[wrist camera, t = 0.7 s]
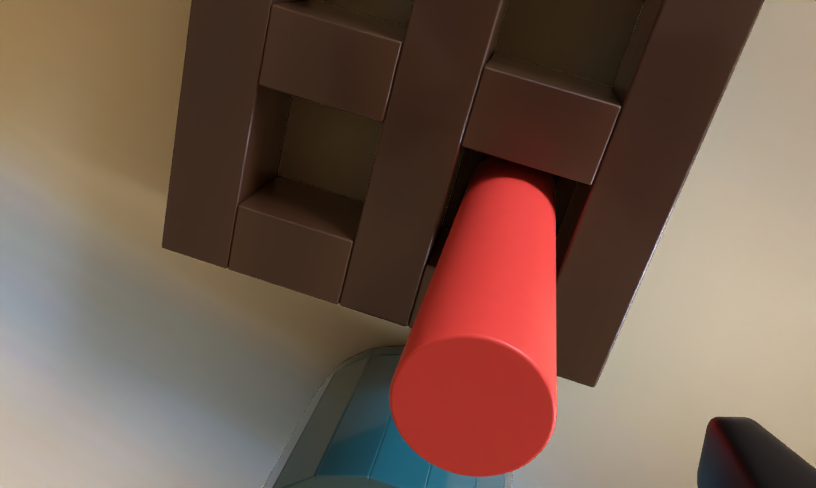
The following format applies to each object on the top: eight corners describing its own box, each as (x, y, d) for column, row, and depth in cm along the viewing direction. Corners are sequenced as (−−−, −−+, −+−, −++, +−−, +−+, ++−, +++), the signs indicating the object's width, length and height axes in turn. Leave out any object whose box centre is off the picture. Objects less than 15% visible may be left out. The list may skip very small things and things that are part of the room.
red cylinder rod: (567, 164, 20) (581, 367, 10) (539, 243, 21) (525, 499, 11) (482, 139, 20) (410, 312, 10) (458, 217, 21) (371, 447, 11)
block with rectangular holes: (776, -109, 17) (819, -124, 14) (589, 335, 22) (594, 389, 19) (276, -241, 18) (225, -279, 15) (208, 213, 23) (160, 248, 20)
